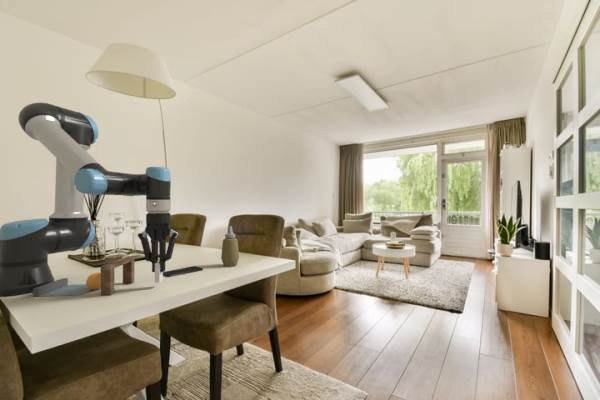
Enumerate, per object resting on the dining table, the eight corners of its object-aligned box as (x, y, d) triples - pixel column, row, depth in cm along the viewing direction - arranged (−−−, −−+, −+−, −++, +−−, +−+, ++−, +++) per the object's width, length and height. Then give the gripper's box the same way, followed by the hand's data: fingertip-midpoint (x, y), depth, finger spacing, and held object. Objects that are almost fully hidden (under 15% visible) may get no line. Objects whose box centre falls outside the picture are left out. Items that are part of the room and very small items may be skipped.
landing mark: (40, 296, 86) (40, 295, 86) (68, 285, 98) (68, 284, 98) (81, 295, 87) (81, 294, 87) (104, 284, 99) (104, 283, 99)
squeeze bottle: (237, 267, 123) (236, 226, 123) (218, 267, 123) (218, 226, 123) (241, 263, 131) (240, 225, 131) (224, 263, 131) (223, 225, 132)
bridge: (100, 295, 86) (100, 265, 86) (125, 282, 101) (125, 257, 101) (110, 295, 86) (110, 265, 87) (134, 282, 101) (134, 256, 101)
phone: (204, 268, 119) (168, 275, 107) (204, 271, 119) (168, 278, 107) (194, 265, 124) (159, 272, 113) (194, 268, 124) (159, 275, 113)
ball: (99, 292, 90) (81, 291, 90) (109, 286, 96) (92, 286, 95) (100, 275, 90) (82, 274, 90) (110, 270, 96) (93, 270, 95)
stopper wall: (33, 296, 86) (33, 288, 86) (62, 285, 98) (62, 278, 98) (38, 296, 86) (38, 288, 86) (67, 285, 98) (67, 278, 98)
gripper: (133, 213, 91) (133, 285, 90) (174, 212, 92) (174, 283, 92) (143, 212, 98) (144, 279, 98) (181, 211, 99) (182, 277, 99)
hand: (158, 281), depth 95 cm, fingers closed
